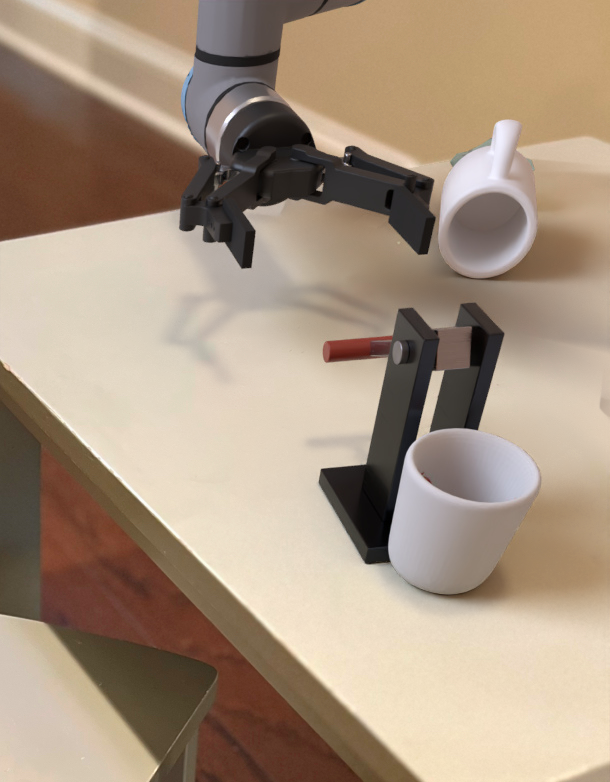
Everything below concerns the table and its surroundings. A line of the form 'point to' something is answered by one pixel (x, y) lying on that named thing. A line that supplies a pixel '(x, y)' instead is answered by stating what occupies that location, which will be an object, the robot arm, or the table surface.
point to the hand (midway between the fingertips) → (338, 243)
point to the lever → (449, 353)
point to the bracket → (410, 421)
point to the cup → (459, 508)
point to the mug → (489, 207)
